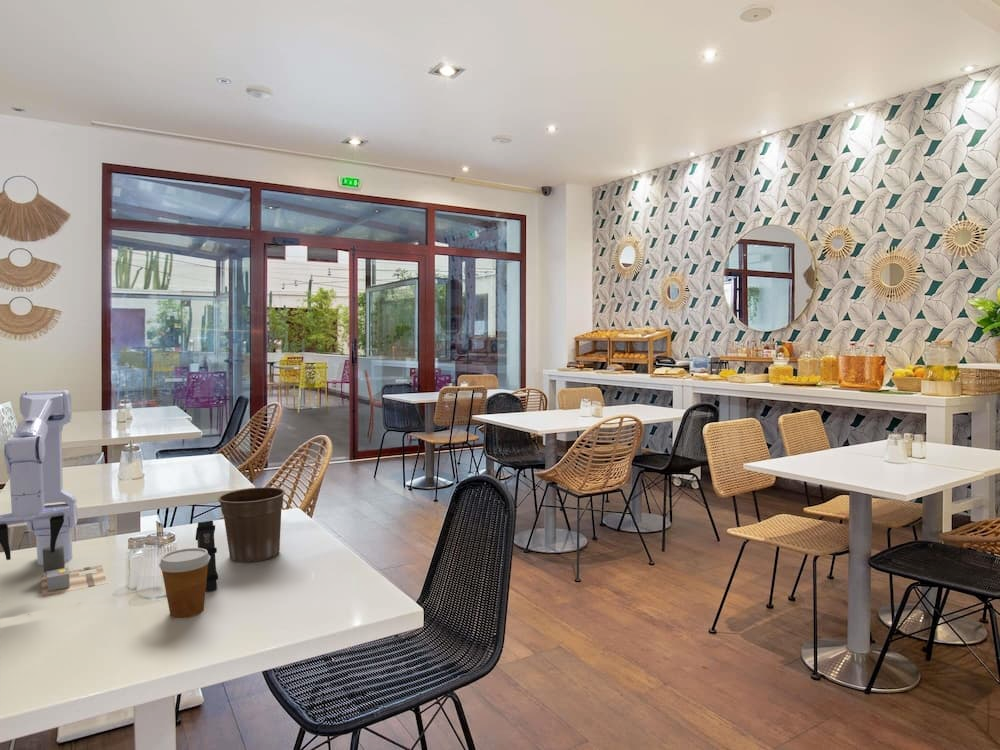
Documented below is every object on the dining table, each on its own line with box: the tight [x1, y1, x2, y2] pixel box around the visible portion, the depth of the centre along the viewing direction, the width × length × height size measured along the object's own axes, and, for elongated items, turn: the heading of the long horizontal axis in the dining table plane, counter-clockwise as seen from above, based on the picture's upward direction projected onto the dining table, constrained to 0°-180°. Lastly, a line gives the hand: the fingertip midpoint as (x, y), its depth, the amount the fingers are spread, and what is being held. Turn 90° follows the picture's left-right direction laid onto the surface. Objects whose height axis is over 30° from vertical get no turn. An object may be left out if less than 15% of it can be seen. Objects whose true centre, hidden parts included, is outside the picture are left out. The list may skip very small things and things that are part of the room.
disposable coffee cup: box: [158, 547, 210, 619], centre depth 133 cm, size 10×10×12 cm
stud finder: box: [46, 567, 70, 591], centre depth 144 cm, size 5×4×3 cm
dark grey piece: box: [42, 546, 66, 574], centre depth 150 cm, size 4×4×7 cm
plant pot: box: [217, 486, 286, 563], centre depth 168 cm, size 16×16×16 cm
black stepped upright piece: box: [195, 520, 219, 593], centre depth 149 cm, size 4×13×15 cm, turn 28°
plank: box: [40, 564, 108, 597], centre depth 149 cm, size 15×12×2 cm
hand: (30, 554), depth 140 cm, fingers open, 7 cm apart
